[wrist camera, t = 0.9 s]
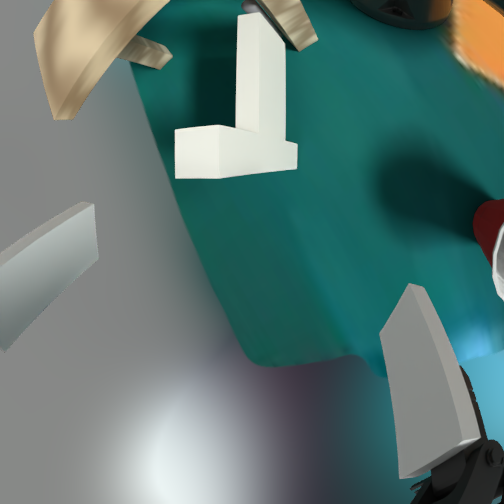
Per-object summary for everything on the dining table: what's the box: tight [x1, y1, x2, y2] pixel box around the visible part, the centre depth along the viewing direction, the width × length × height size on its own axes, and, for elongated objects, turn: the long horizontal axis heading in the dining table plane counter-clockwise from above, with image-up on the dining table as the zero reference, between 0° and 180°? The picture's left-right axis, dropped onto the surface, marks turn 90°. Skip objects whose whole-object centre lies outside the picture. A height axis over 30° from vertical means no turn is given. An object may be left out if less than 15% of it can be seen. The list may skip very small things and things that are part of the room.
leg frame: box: [175, 0, 297, 178], centre depth 21 cm, size 17×3×19 cm, turn 0°
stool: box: [33, 0, 318, 120], centre depth 20 cm, size 20×16×22 cm
